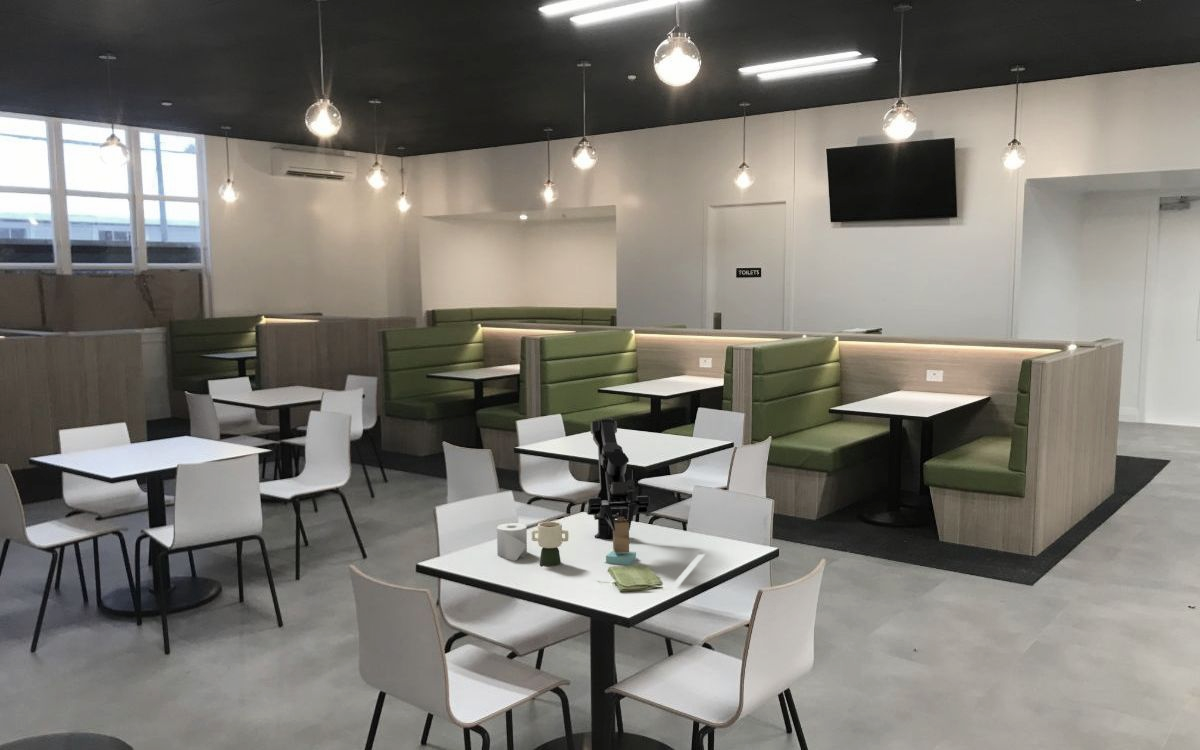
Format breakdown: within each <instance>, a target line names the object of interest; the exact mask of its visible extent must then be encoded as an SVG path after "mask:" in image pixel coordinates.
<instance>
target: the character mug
mask: <svg viewBox="0 0 1200 750" xmlns="http://www.w3.org/2000/svg"><path fill="white" fill-rule="evenodd" d="M536 534H537V537H536ZM563 534H564V537H563ZM531 541H532V542H537V543H538V546H539V547H540V548H541V551H540V557H539V566H540V567H541V568H543V567H557V566H560V565H561V563H562V561H561V556H560V549H559V547H561V546H562V544H563V542H564V543H565V542H568V541H569V530H563V524H562V523H561V522H558V521H544V522H540V523H538V524H537V529H533V530H531Z"/></svg>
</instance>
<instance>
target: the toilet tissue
mask: <svg viewBox="0 0 1200 750" xmlns="http://www.w3.org/2000/svg"><path fill="white" fill-rule="evenodd" d="M496 532H497V534H496V535H497V537H496V538H497V540H496V541H497V542H496V544H497V547H496V548H497V551H496V552H497V556H498V557H500V558H503V559H506V560H508V559H509V560H510V561H515V560H516V561H517V560H518V559H519V558H523V557H525V556H527V555H528V547H527V546H528V543H527V541H528V540H527V538H528V537H527V536H528V533H527V525H526V524H525V523H524V524H523V523H518V522H517V523H516V522H515V523H514V522H509V523H502V524H499V525H497V526H496Z"/></svg>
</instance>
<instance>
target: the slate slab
mask: <svg viewBox="0 0 1200 750" xmlns="http://www.w3.org/2000/svg"><path fill="white" fill-rule="evenodd" d="M638 559H639V557H636V559H635V560H634V561H633V562H631V563H630V564H629V565H625V564H615V563H606V561H605V562H604V564H608V565H609V564H610V565H617V566H632V565H633V563H635V562H636V561H637V560H638Z"/></svg>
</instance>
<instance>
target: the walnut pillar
mask: <svg viewBox="0 0 1200 750" xmlns="http://www.w3.org/2000/svg"><path fill="white" fill-rule="evenodd" d="M614 526H615V531H613V539H612V549H613V550H614V552H615V553H623V552H629V551H630V530H629V522H628V520H627V519H626V517H625V516H621V517H617V519H615V520H614ZM613 550H612V551H613Z"/></svg>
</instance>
